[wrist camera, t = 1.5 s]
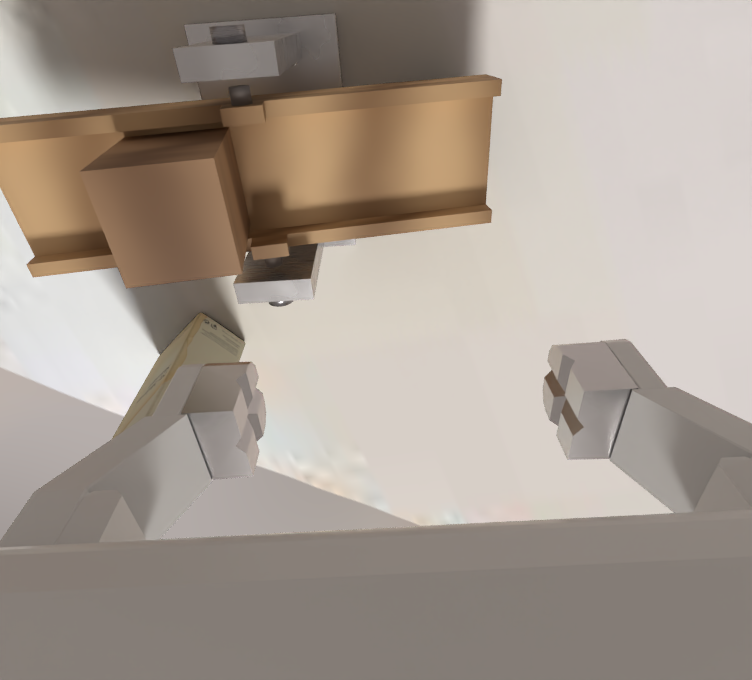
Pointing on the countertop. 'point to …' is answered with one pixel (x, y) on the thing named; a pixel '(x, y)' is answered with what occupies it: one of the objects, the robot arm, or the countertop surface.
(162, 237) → the block
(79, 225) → the beam
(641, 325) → the countertop surface
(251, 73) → the pivot stand
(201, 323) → the skincare box
